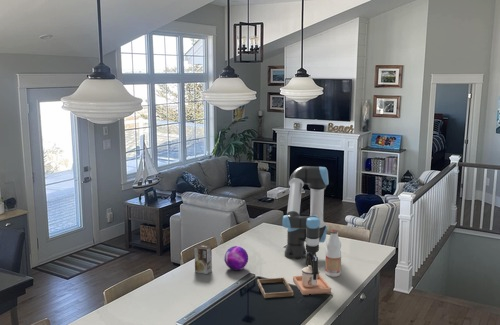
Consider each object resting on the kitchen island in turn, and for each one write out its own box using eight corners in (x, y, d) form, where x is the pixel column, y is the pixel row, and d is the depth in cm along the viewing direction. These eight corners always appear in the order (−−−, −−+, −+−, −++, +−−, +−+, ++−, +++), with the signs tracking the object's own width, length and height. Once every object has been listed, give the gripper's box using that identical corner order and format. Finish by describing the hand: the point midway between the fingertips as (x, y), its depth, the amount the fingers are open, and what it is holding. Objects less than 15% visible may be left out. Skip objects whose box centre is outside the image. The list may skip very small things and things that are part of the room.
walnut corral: (257, 283, 298) (257, 279, 297) (284, 281, 301) (284, 277, 300) (264, 298, 278) (264, 293, 277) (293, 295, 281) (293, 291, 280)
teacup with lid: (308, 289, 286) (309, 269, 284) (298, 283, 294) (298, 264, 292) (324, 284, 293) (324, 265, 291) (313, 278, 301) (313, 260, 299)
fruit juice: (330, 278, 306) (332, 234, 301) (322, 272, 314) (323, 229, 309) (343, 275, 310) (345, 232, 305) (334, 270, 318) (336, 227, 313)
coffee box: (212, 270, 316) (212, 246, 313) (207, 274, 310) (206, 249, 308) (199, 268, 320) (199, 244, 317) (194, 272, 314) (194, 247, 311)
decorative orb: (253, 269, 319) (253, 246, 317) (236, 275, 308) (236, 252, 306) (236, 263, 329) (236, 241, 327) (219, 269, 319) (219, 246, 316)
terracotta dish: (292, 280, 301) (292, 276, 301) (319, 278, 304) (319, 274, 304) (302, 295, 282) (302, 290, 281) (330, 292, 285) (330, 288, 284)
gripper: (300, 238, 299) (300, 274, 302) (311, 250, 278) (310, 289, 281) (312, 237, 300) (312, 273, 304) (324, 250, 279) (323, 288, 283)
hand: (311, 281), depth 293 cm, fingers closed on teacup with lid, 9 cm apart
